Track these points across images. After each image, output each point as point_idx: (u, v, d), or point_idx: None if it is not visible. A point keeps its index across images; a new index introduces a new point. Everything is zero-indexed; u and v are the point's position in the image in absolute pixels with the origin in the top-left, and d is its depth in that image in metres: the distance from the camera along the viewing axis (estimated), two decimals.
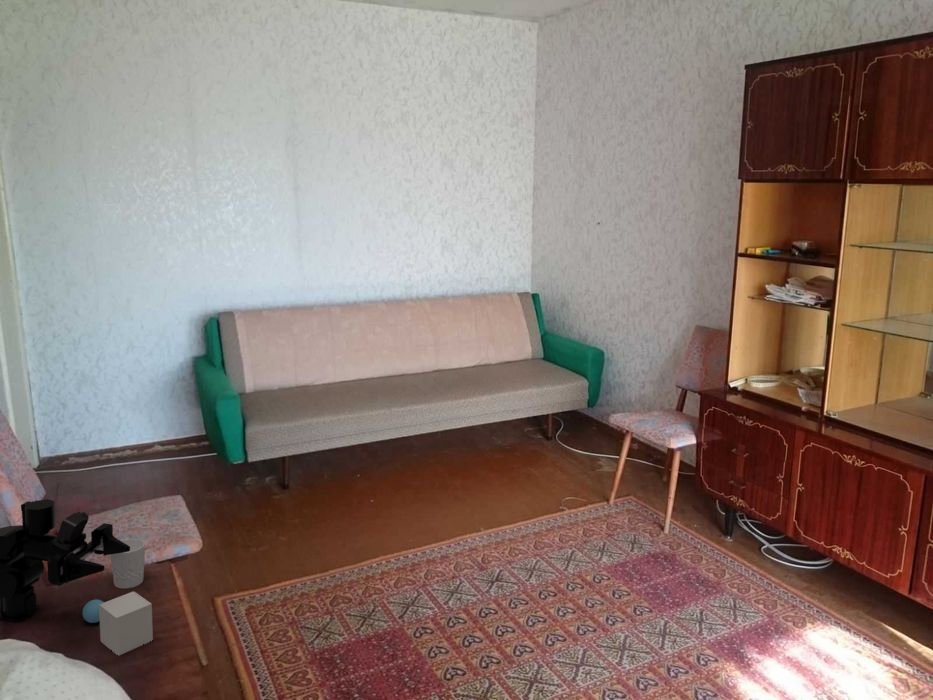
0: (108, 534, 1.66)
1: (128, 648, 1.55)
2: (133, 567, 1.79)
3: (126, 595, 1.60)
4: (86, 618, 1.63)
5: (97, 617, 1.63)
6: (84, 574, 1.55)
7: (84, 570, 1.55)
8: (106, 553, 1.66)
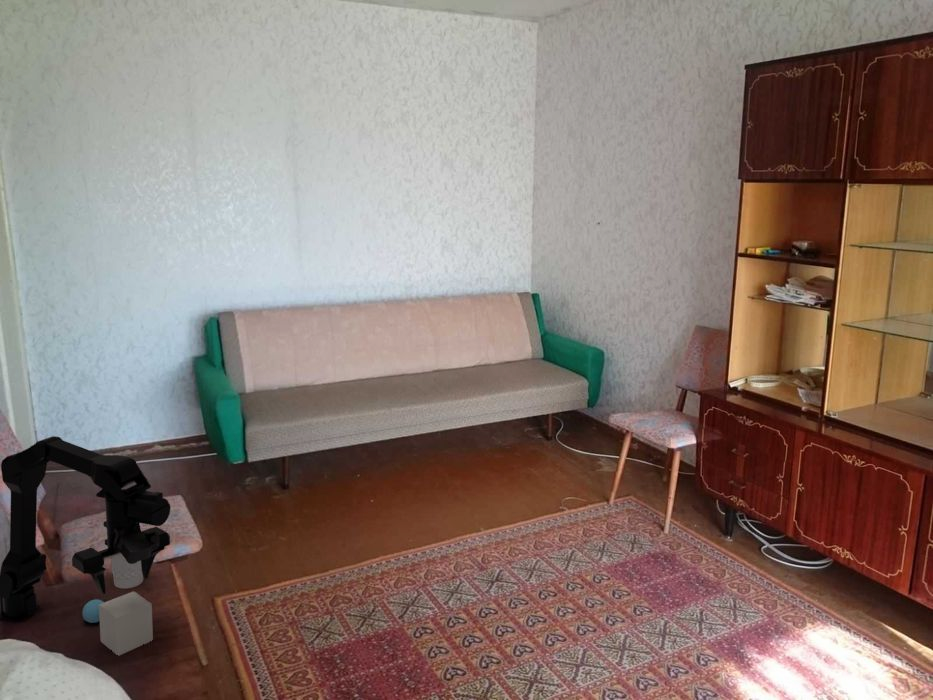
0: (153, 554, 1.58)
1: (128, 648, 1.55)
2: (133, 567, 1.79)
3: (126, 595, 1.60)
4: (86, 618, 1.63)
5: (97, 617, 1.63)
6: (92, 577, 1.52)
7: (95, 578, 1.51)
8: None
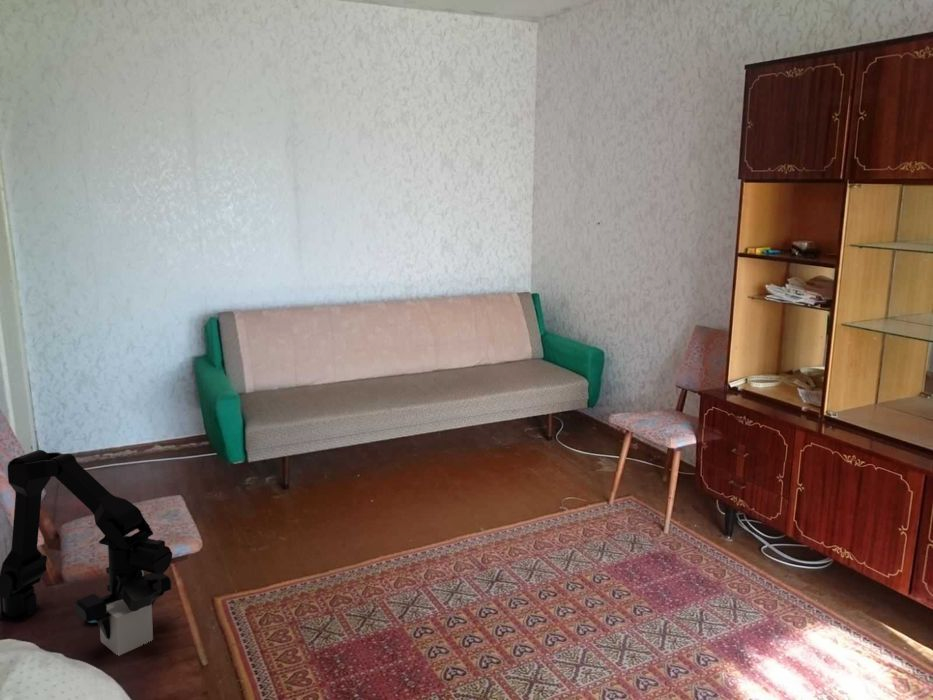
0: (152, 600, 1.60)
1: (128, 648, 1.55)
2: None
3: None
4: None
5: None
6: (97, 622, 1.54)
7: (100, 623, 1.54)
8: None
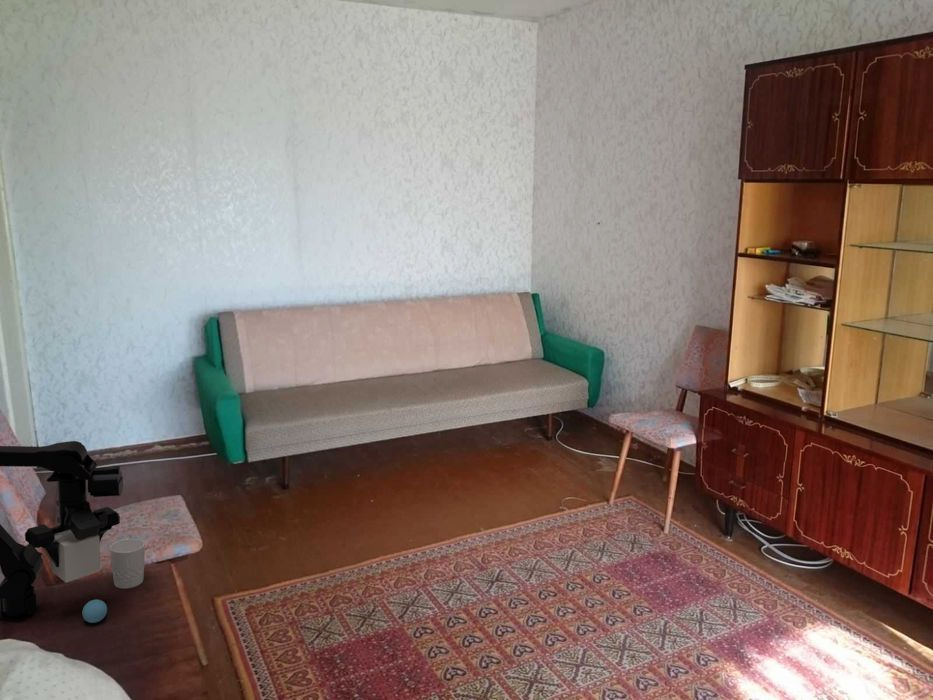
0: (100, 533, 1.69)
1: (76, 576, 1.65)
2: (133, 567, 1.79)
3: None
4: (86, 618, 1.63)
5: (97, 617, 1.63)
6: (47, 551, 1.64)
7: (49, 552, 1.64)
8: None
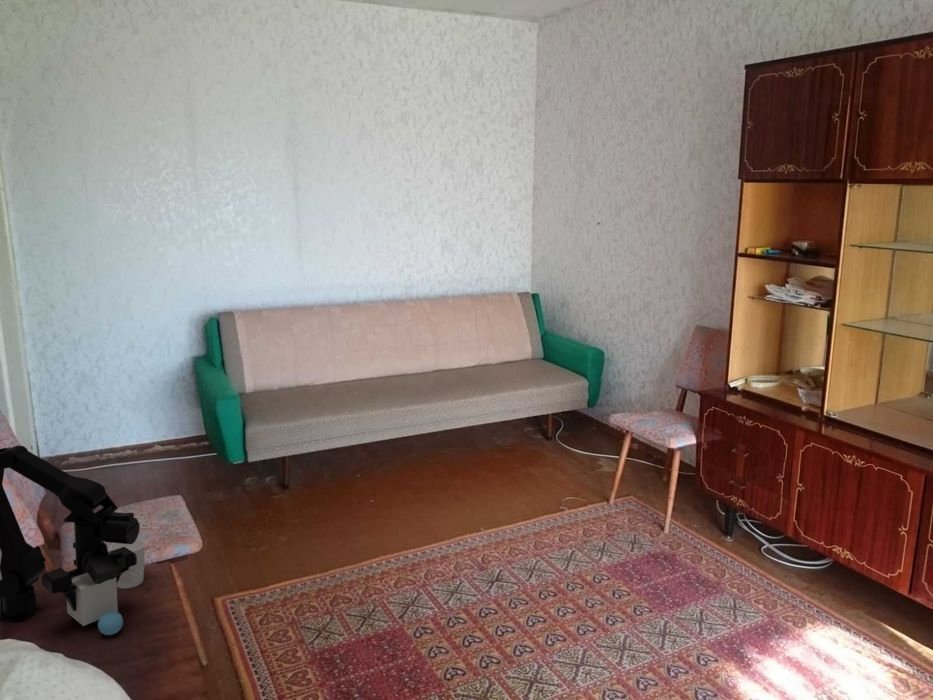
0: (117, 574, 1.67)
1: (93, 619, 1.62)
2: (133, 567, 1.79)
3: None
4: (98, 624, 1.59)
5: None
6: (64, 595, 1.61)
7: (66, 596, 1.61)
8: None
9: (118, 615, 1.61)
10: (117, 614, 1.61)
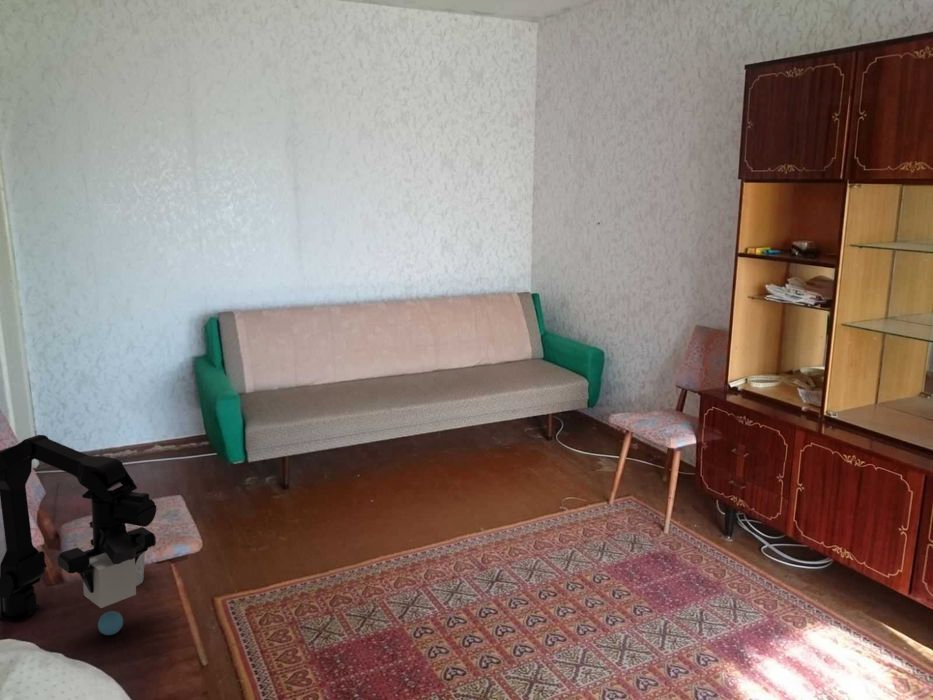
0: (136, 555, 1.60)
1: (111, 601, 1.55)
2: None
3: None
4: (98, 624, 1.59)
5: None
6: (81, 576, 1.54)
7: (83, 577, 1.54)
8: None
9: (118, 615, 1.61)
10: (117, 614, 1.61)
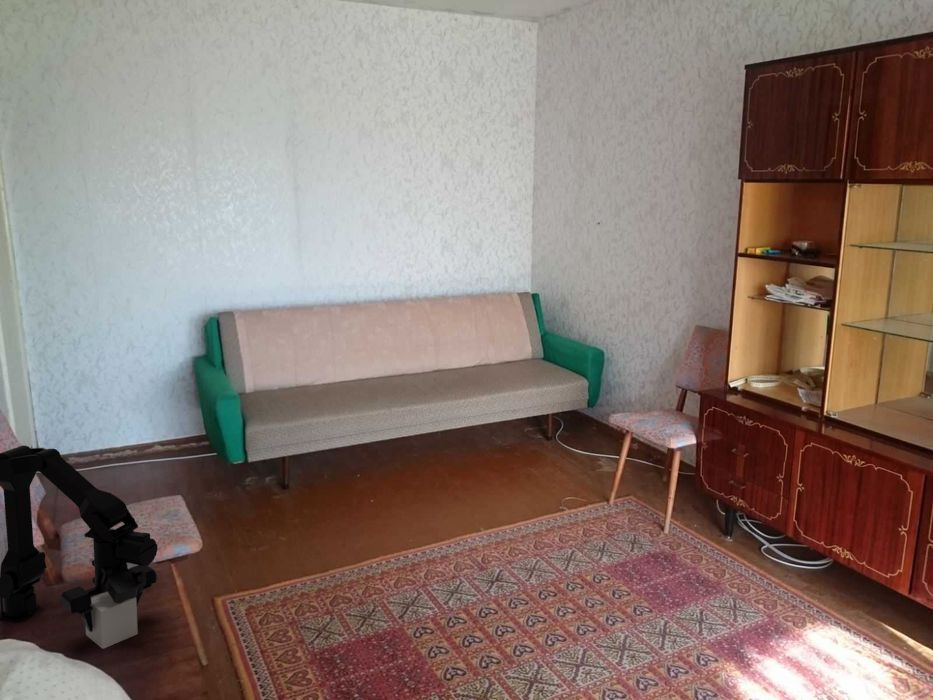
0: (140, 591, 1.62)
1: (113, 641, 1.57)
2: None
3: None
4: None
5: None
6: (80, 615, 1.56)
7: (82, 616, 1.55)
8: None
9: None
10: None
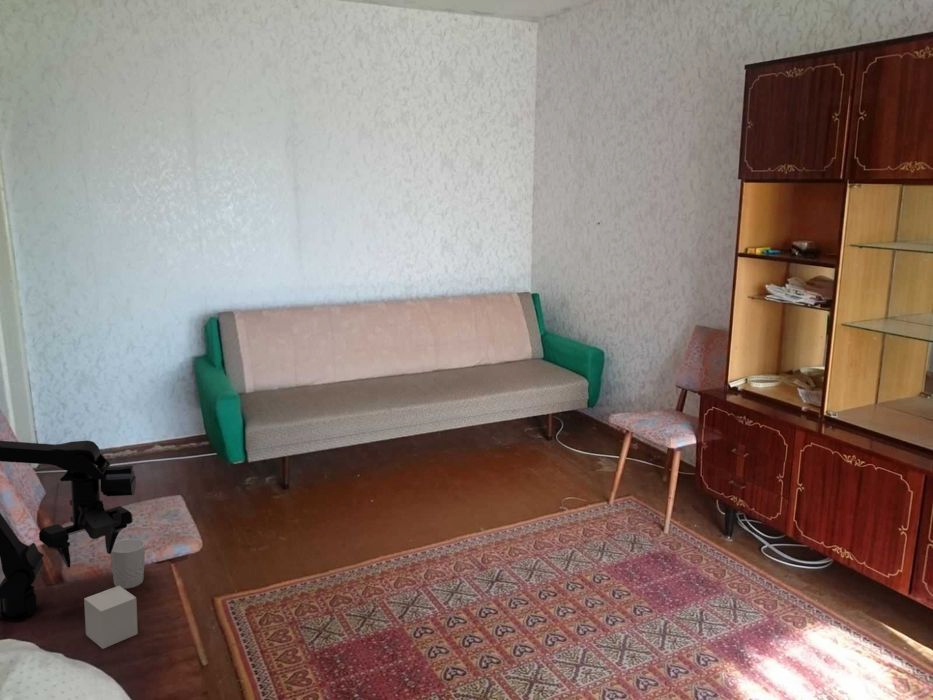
0: (116, 531, 1.70)
1: (113, 641, 1.57)
2: (133, 567, 1.79)
3: (111, 589, 1.62)
4: None
5: None
6: (58, 551, 1.64)
7: (61, 552, 1.64)
8: None
9: None
10: None
